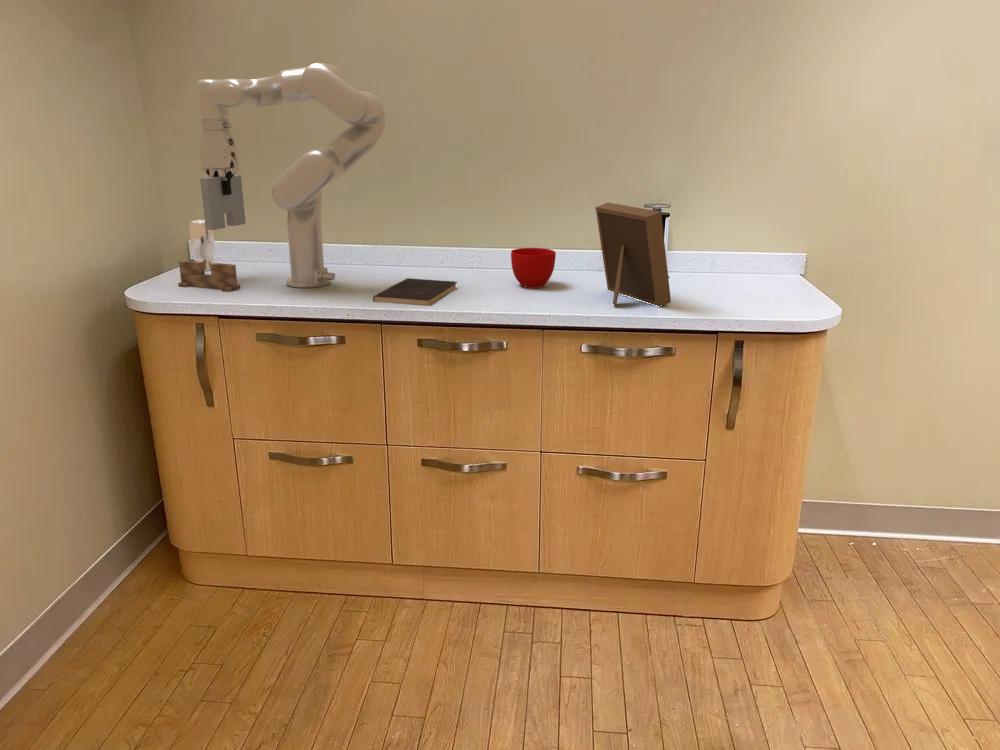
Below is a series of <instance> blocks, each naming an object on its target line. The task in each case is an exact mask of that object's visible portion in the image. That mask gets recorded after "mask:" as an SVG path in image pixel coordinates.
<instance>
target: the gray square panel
mask: <svg viewBox="0 0 1000 750" xmlns="http://www.w3.org/2000/svg"><path fill="white" fill-rule="evenodd" d="M199 181H200V189H201V196H202V197H201V199H202V207H203V216H204V220H205V226H206V230H213V231H215V230H221V229H225V228H226V226H231V227H236V226H241V225H245V224H246V214H245V204H244V195H243V184H242V183H243V182H242V175H239V174H234V176H233V177H232V180H230V182H231V192H232V194H231V195H223V194H222V185H221V181H223V179H222V175H221V176H220V177H202V178H201V177H200V179H199ZM225 217H226V220H225ZM225 221H226V222H225Z"/></svg>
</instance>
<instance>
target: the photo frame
mask: <svg viewBox="0 0 1000 750" xmlns="http://www.w3.org/2000/svg"><path fill="white" fill-rule="evenodd" d="M594 208H595V214H596V219H597V220H596V221H597V227H598V234H599V241H600V246H601V252H602V253H601V254H602V259H603V268H604V274H605V279H606V280H605V281H606V287H607V288H606V289H607V291H608V290H610V291H613V292H614V293H613V297H612V298H613V299H612V305H613V304H614V306H616V307H617V305H618V299H619V295H618V294H619V293H620V294H623V295H627V296H630V297H633V298H636V299H639V300H642V301H645V302H648V303H651V304H654V305H657V306H661V305H664V306H665V305H668V304H670V303H671V302H672V298H671V290H670V289H671V288H670V281H669V271H668V264H667V262H668V261H667V254H666V244H665V236H664V224H663V215H662V211H659V210H652V209H648V208H642V207H641V208H640V207H635V206H629V205H625V204H624V205H623V204H618V203H612V202H606V203H603V204H601V205H598V206H595V207H594ZM614 306H613V307H614ZM661 307H662V306H661Z"/></svg>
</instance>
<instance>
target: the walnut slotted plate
mask: <svg viewBox="0 0 1000 750" xmlns="http://www.w3.org/2000/svg"><path fill="white" fill-rule="evenodd" d="M178 267H179V275H180V282H178V287H179V286H180V287H181V288H188V287H192V288H193V287H195V288H203V289H204V288H205V289H212V290H213V289H214V290H221V291H222V292H228V293H229V292H232V291H233V292H234V291H237V290H239V289H241V287H242V286H241V284H239V283H238V277H237V276H238V275H237V268H236V264H232V263H221V262H215V263H212V264H210V267H211V270H210V274H209V273H208V274H207V273H205V272H206V271H205V270H204V262H200V261H196V260H188V259H182V260H178Z"/></svg>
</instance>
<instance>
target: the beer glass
mask: <svg viewBox="0 0 1000 750" xmlns="http://www.w3.org/2000/svg"><path fill="white" fill-rule="evenodd" d="M188 222H189V223H188V224H189V226H188V227H189V228H188V229H189V237H190V241H191V246H192V250H193V253H194V255H195V261H200V262H204V270H205V272H206V271H211V267H210V264H212V263H216V262H215V259H214V249H215V234H214V230H206V226H205V219H194V220H190V221H188Z"/></svg>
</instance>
